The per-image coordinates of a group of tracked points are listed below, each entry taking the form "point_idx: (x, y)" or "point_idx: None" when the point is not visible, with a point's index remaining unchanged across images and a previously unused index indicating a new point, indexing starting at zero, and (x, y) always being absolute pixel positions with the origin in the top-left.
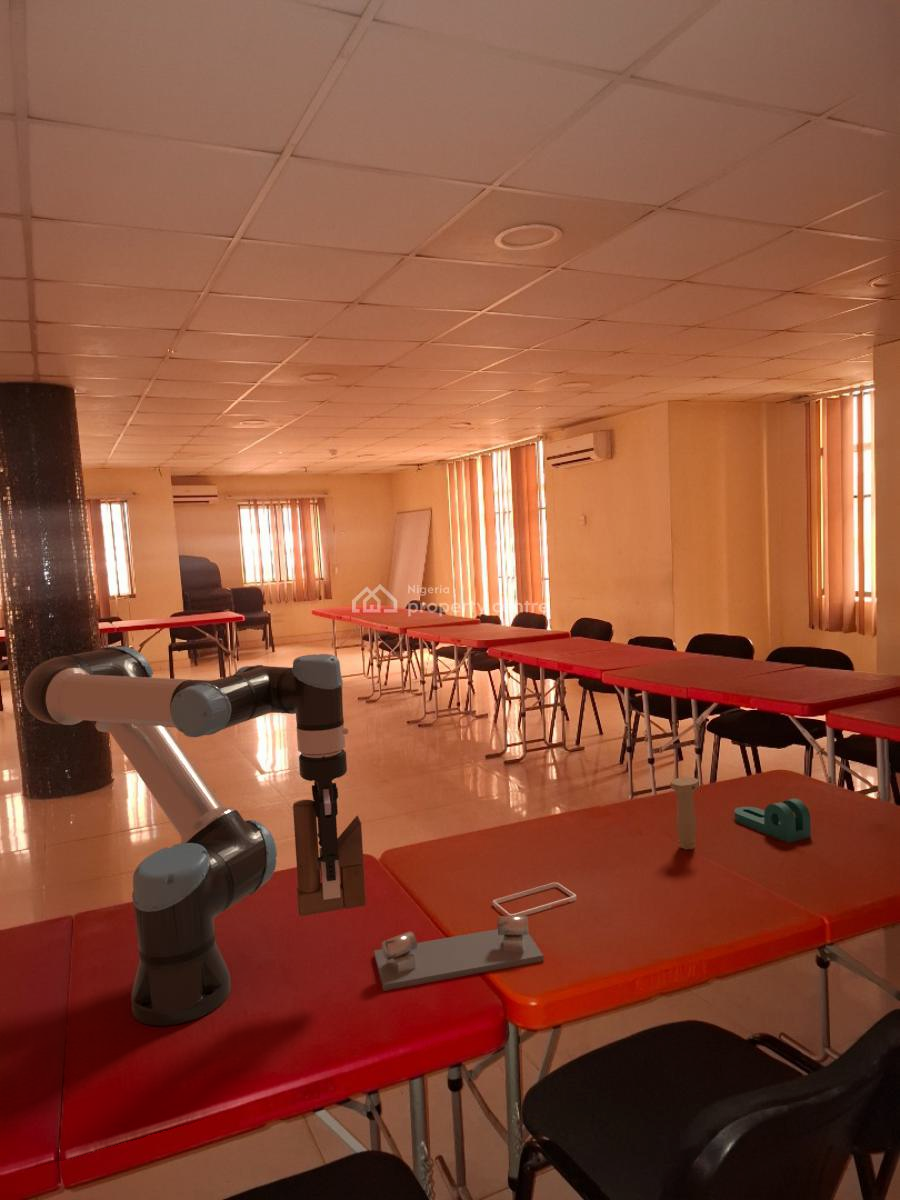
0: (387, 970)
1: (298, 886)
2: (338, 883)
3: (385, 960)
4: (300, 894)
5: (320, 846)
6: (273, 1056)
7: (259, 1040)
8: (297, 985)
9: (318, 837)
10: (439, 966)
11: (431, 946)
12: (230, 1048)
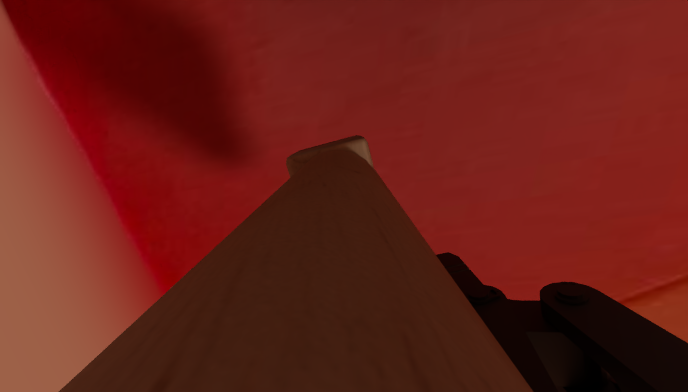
0: None
1: (319, 154)
2: None
3: None
4: (290, 165)
5: (463, 290)
6: (142, 124)
7: (181, 91)
8: (337, 124)
9: (558, 284)
10: None
11: None
12: (160, 44)
